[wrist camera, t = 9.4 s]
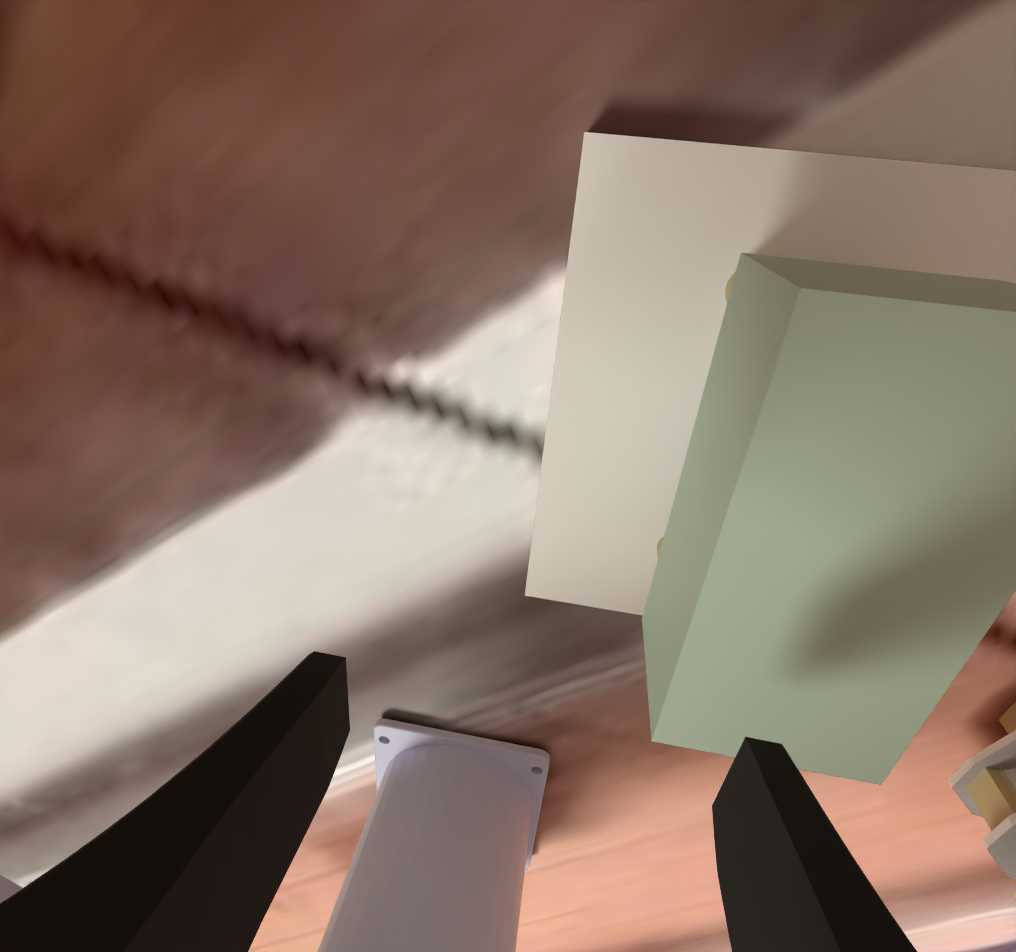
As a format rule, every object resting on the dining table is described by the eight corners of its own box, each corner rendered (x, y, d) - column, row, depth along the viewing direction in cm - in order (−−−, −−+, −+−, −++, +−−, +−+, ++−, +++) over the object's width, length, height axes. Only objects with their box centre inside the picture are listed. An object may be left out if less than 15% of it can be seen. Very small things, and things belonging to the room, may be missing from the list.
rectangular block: (820, 649, 16) (881, 785, 12) (641, 619, 16) (651, 741, 13) (1005, 280, 11) (1193, 332, 7) (740, 252, 11) (800, 288, 8)
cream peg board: (870, 638, 19) (916, 719, 16) (527, 581, 20) (514, 647, 17) (1123, 182, 12) (1279, 185, 9) (585, 134, 13) (579, 123, 11)
